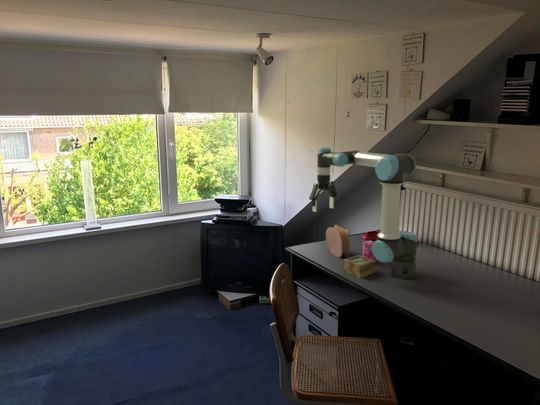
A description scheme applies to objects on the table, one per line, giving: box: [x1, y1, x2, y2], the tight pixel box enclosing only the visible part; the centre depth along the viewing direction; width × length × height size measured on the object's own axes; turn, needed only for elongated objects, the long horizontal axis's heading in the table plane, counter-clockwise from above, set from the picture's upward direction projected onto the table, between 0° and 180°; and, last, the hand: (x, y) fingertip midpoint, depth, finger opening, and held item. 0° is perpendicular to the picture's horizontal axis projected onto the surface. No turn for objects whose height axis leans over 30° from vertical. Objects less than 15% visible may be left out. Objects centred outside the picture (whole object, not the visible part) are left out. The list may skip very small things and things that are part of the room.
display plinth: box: [343, 254, 377, 279], centre depth 239 cm, size 12×12×7 cm
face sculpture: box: [325, 224, 351, 259], centre depth 266 cm, size 20×7×17 cm, turn 25°
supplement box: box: [362, 240, 377, 262], centre depth 254 cm, size 6×6×12 cm
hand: (323, 209), depth 261 cm, fingers open, 13 cm apart
